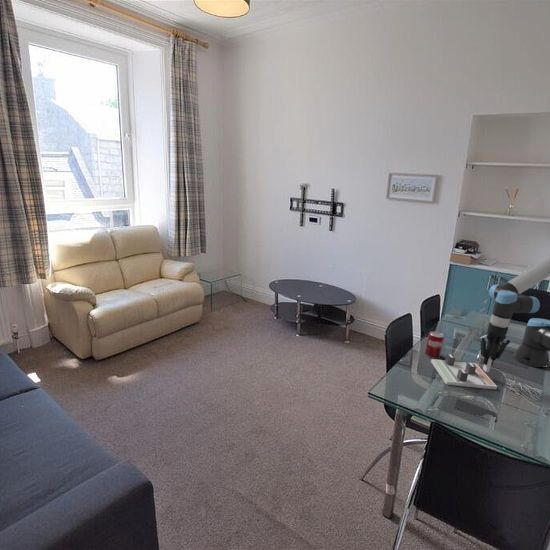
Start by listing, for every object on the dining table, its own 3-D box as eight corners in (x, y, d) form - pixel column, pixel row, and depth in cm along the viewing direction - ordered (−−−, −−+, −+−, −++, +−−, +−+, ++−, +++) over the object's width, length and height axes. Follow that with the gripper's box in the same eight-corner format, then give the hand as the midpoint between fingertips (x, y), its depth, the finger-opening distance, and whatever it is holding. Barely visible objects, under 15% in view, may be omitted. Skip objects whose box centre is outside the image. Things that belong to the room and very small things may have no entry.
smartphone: (496, 422, 142) (454, 406, 149) (495, 424, 142) (453, 408, 149) (496, 412, 148) (456, 397, 155) (496, 414, 148) (455, 399, 155)
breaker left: (451, 362, 182) (452, 354, 181) (453, 365, 179) (455, 357, 178) (444, 361, 182) (446, 353, 181) (447, 364, 180) (449, 357, 178)
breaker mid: (471, 371, 175) (473, 363, 174) (474, 374, 173) (476, 366, 171) (465, 370, 176) (467, 362, 174) (467, 373, 173) (469, 366, 171)
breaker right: (463, 377, 169) (465, 369, 168) (466, 381, 166) (468, 373, 165) (456, 377, 169) (458, 369, 168) (459, 380, 166) (461, 372, 165)
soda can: (440, 360, 187) (446, 338, 184) (425, 357, 188) (430, 336, 185) (437, 353, 194) (442, 332, 190) (423, 351, 195) (427, 330, 192)
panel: (475, 366, 184) (476, 362, 183) (496, 389, 165) (497, 385, 164) (430, 361, 185) (431, 358, 184) (446, 384, 165) (447, 380, 165)
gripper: (509, 322, 170) (495, 367, 177) (480, 319, 170) (468, 364, 177) (518, 329, 163) (504, 376, 170) (488, 326, 163) (475, 373, 170)
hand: (485, 370), depth 173 cm, fingers closed
